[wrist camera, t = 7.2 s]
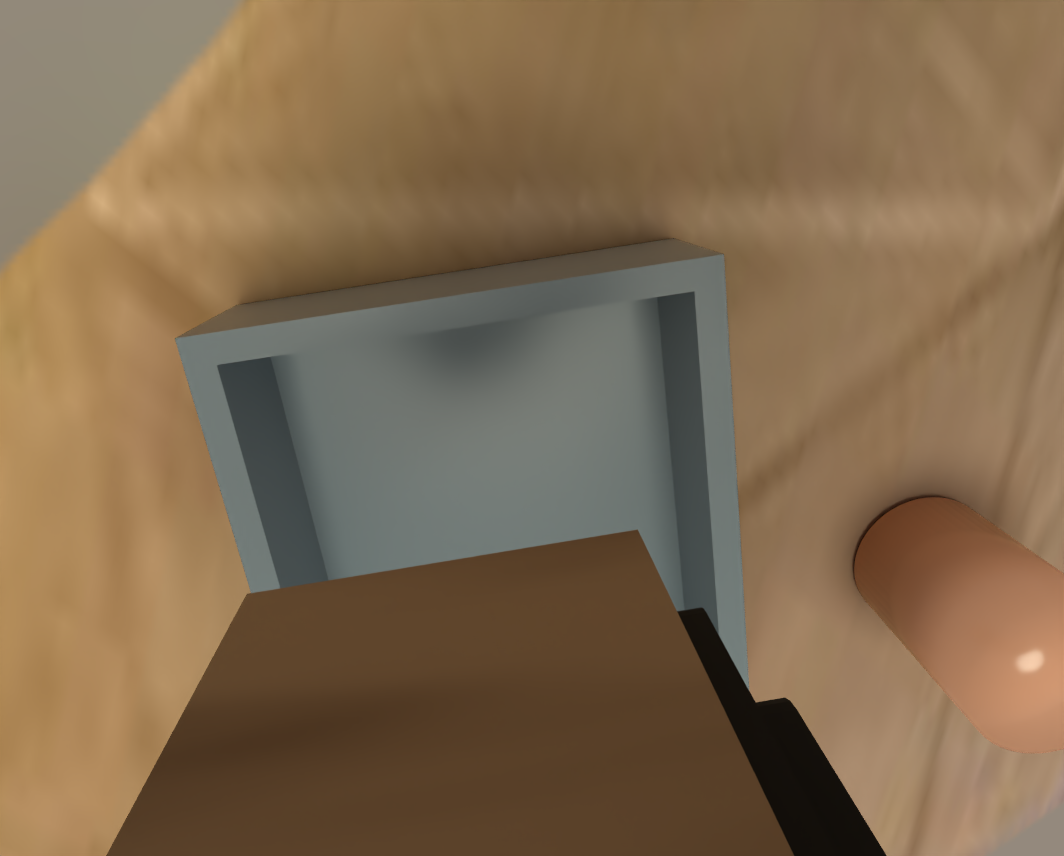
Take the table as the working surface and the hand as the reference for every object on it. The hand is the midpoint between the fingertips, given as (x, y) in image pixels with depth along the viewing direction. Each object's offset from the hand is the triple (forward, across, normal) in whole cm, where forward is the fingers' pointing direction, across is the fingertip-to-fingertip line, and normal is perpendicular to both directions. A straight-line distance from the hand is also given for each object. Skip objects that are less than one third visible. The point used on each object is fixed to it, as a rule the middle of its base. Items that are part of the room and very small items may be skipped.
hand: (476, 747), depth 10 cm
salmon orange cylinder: (+16, -15, +8) cm, 23 cm away
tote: (+16, 0, +4) cm, 16 cm away
